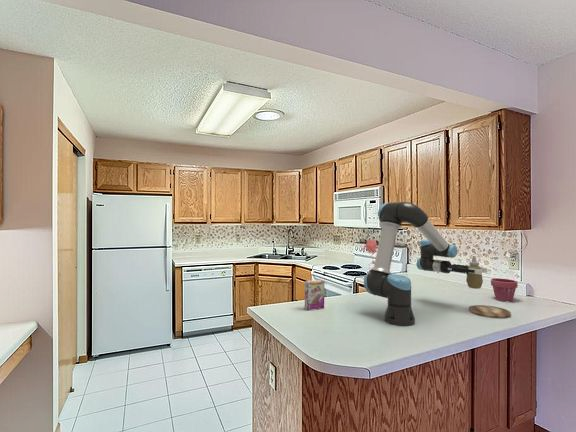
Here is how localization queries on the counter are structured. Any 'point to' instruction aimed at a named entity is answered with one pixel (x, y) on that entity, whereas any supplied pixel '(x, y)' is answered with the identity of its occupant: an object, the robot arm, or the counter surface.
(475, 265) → the squeeze bottle
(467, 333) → the counter surface
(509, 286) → the plant pot
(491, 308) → the walnut board
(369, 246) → the figurine
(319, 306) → the candy bar box
